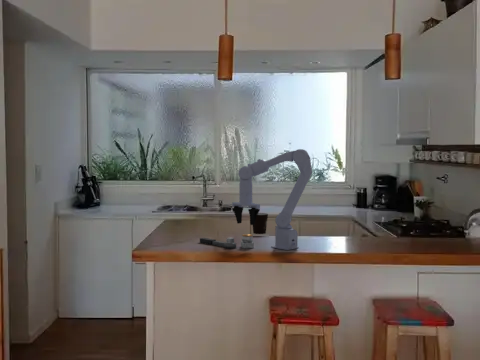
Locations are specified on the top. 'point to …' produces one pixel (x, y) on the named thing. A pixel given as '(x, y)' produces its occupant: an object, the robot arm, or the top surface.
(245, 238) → the socket
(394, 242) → the top surface
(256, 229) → the coffee mug
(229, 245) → the ratchet
